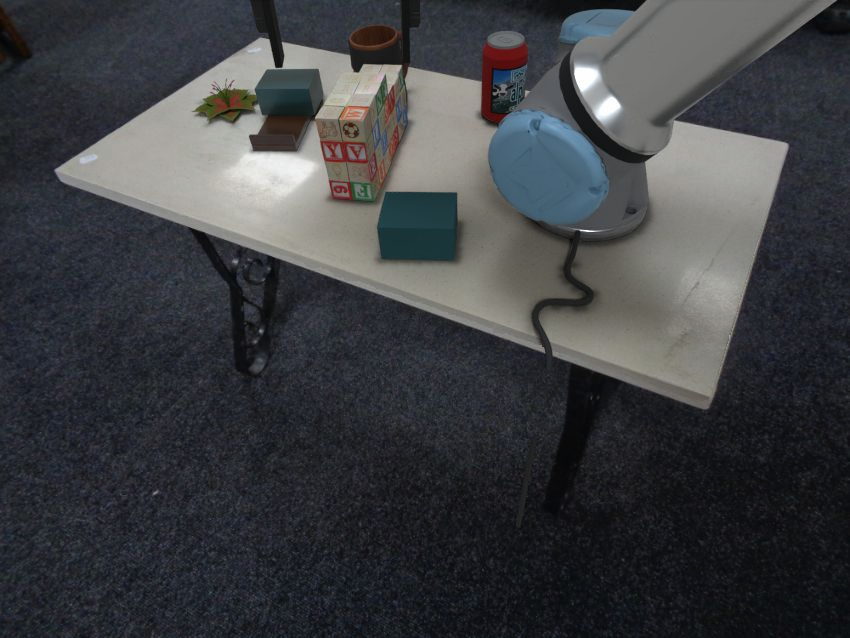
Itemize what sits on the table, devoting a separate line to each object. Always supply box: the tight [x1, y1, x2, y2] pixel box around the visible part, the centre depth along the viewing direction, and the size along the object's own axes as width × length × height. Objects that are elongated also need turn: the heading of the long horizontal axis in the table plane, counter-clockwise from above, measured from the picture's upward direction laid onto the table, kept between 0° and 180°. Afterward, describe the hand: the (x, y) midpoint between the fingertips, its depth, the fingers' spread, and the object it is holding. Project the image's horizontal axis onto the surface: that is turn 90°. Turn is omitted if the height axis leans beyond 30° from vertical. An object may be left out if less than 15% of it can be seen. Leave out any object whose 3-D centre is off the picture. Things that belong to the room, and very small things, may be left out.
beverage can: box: [480, 30, 529, 124], centre depth 85 cm, size 7×7×12 cm
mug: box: [347, 24, 410, 105], centre depth 90 cm, size 9×12×12 cm
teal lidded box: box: [248, 68, 325, 152], centre depth 90 cm, size 17×9×6 cm, turn 174°
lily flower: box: [191, 78, 258, 122], centre depth 95 cm, size 12×12×5 cm
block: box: [376, 191, 459, 262], centre depth 69 cm, size 7×9×5 cm
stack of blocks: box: [314, 64, 409, 202], centre depth 79 cm, size 21×6×12 cm, turn 169°
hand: (343, 60), depth 60 cm, fingers open, 13 cm apart
